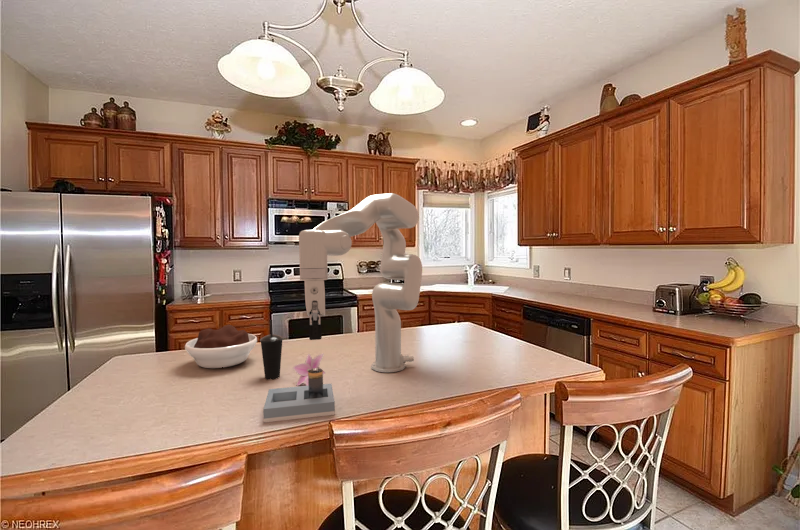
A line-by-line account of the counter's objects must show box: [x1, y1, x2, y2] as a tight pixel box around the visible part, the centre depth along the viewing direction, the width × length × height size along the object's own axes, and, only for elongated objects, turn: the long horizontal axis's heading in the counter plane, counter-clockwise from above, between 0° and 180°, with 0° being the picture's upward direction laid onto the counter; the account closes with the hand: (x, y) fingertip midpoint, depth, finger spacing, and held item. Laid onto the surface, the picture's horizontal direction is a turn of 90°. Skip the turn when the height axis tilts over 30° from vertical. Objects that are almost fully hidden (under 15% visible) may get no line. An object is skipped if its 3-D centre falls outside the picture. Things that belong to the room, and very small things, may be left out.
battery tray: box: [262, 383, 336, 423], centre depth 105 cm, size 18×14×4 cm
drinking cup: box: [259, 319, 284, 380], centre depth 129 cm, size 8×8×20 cm
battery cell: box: [308, 368, 324, 399], centre depth 106 cm, size 4×4×10 cm
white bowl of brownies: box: [184, 324, 258, 369], centre depth 144 cm, size 25×25×15 cm
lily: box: [292, 352, 326, 387], centre depth 123 cm, size 12×12×10 cm
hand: (315, 335), depth 105 cm, fingers open, 9 cm apart
